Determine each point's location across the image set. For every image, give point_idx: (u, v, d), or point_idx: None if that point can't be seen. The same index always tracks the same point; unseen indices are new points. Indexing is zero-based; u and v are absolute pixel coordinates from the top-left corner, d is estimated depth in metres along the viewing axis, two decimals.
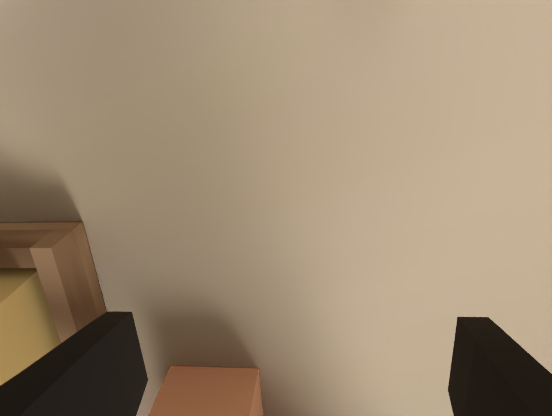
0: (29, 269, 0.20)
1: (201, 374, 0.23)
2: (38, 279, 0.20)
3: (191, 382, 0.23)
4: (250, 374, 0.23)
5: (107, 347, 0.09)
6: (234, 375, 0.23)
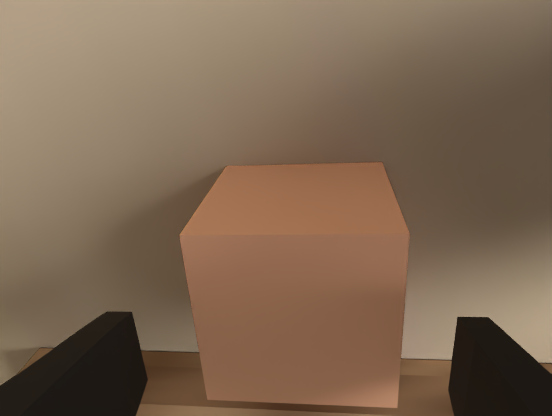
0: None
1: None
2: None
3: None
4: None
5: (106, 347, 0.09)
6: None
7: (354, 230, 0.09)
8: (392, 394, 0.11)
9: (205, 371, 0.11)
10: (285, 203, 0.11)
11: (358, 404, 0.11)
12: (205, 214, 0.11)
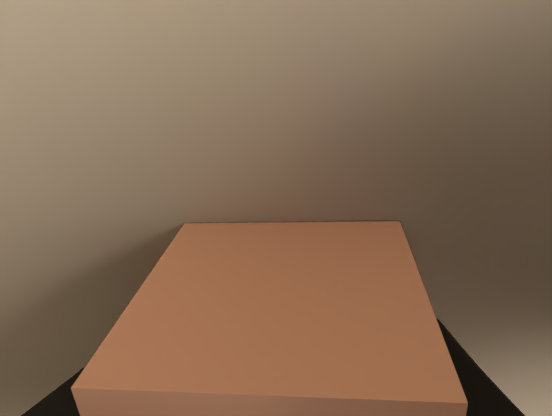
0: None
1: None
2: None
3: None
4: None
5: None
6: None
7: (367, 386, 0.05)
8: None
9: None
10: (256, 309, 0.07)
11: None
12: (128, 331, 0.07)
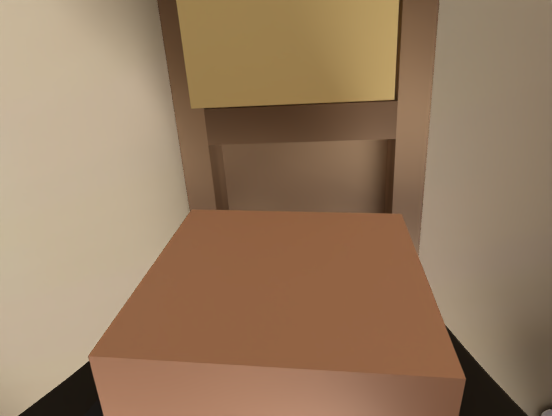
0: None
1: None
2: None
3: None
4: None
5: None
6: None
7: (371, 362, 0.06)
8: None
9: None
10: (264, 290, 0.07)
11: None
12: (142, 307, 0.07)
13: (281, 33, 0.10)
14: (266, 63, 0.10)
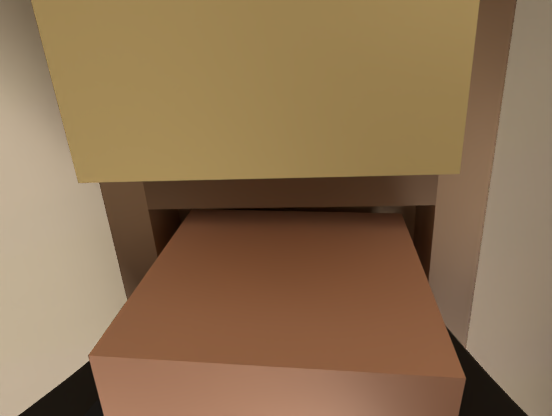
0: None
1: None
2: None
3: None
4: None
5: None
6: None
7: (371, 361, 0.06)
8: None
9: None
10: (264, 290, 0.07)
11: None
12: (142, 306, 0.07)
13: (237, 46, 0.05)
14: (211, 103, 0.05)
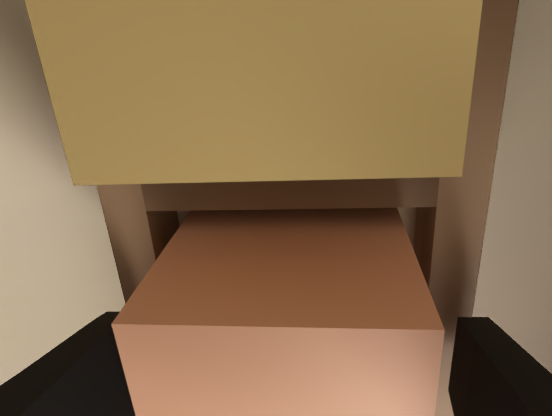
0: None
1: None
2: None
3: None
4: None
5: (106, 347, 0.09)
6: None
7: (361, 319, 0.06)
8: None
9: None
10: (266, 266, 0.08)
11: None
12: (156, 283, 0.08)
13: (236, 46, 0.05)
14: (208, 104, 0.05)
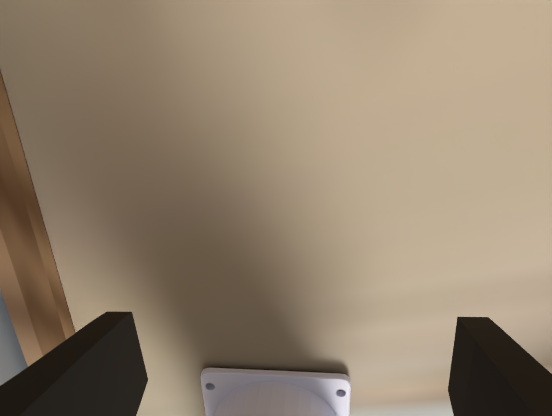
0: None
1: None
2: None
3: None
4: None
5: (107, 347, 0.09)
6: None
7: None
8: None
9: None
10: None
11: None
12: None
13: None
14: None
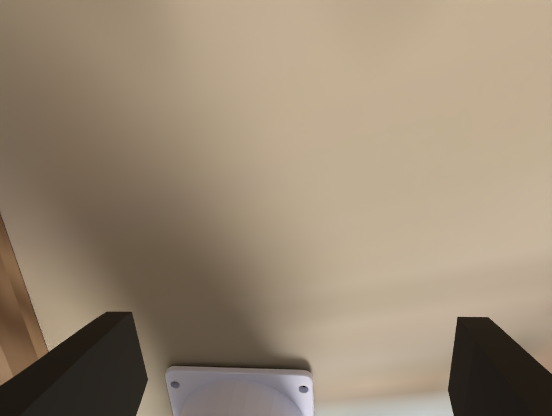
0: None
1: None
2: None
3: None
4: None
5: (107, 346, 0.09)
6: None
7: None
8: None
9: None
10: None
11: None
12: None
13: None
14: None
